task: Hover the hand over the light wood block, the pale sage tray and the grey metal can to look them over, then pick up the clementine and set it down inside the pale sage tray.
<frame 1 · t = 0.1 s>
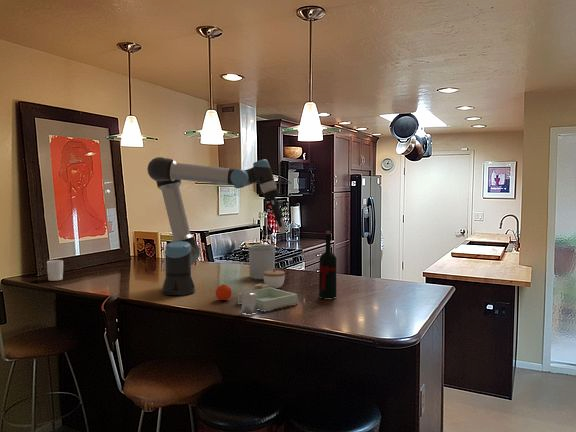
hand: (283, 231, 222), 28 cm above the countertop, tool tilted 20°, fingers open, 13 cm apart
sage tray: (267, 304, 192), on the countertop
utensil holder: (261, 277, 251), on the countertop
lidded jar: (274, 288, 225), on the countertop
metal can: (249, 313, 178), on the countertop
wood block: (261, 295, 208), on the countertop
clementine: (223, 300, 199), on the countertop
wine bottle: (326, 298, 203), on the countertop
white cup: (55, 280, 242), on the countertop
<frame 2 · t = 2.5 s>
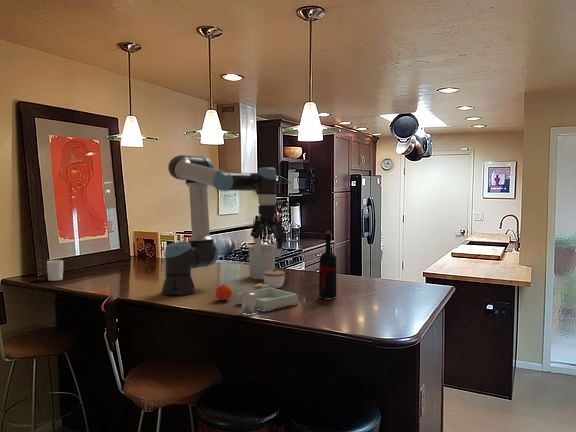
hand: (267, 255, 191), 21 cm above the countertop, tool pointing down, fingers open, 13 cm apart
nothing on the countertop moved.
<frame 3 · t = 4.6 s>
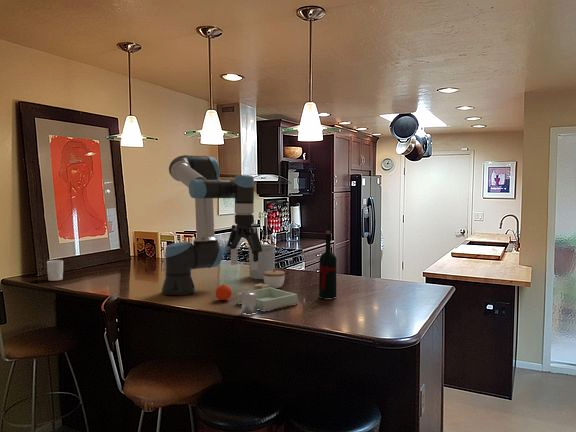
hand: (243, 267, 181), 18 cm above the countertop, tool pointing down, fingers open, 13 cm apart
nothing on the countertop moved.
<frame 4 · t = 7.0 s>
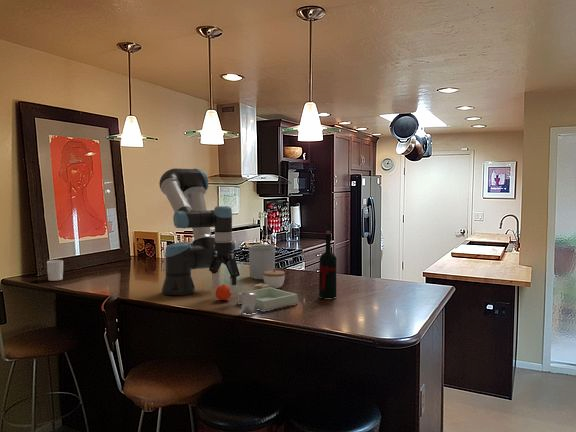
hand: (224, 290, 198), 5 cm above the countertop, tool pointing down, fingers open, 13 cm apart
nothing on the countertop moved.
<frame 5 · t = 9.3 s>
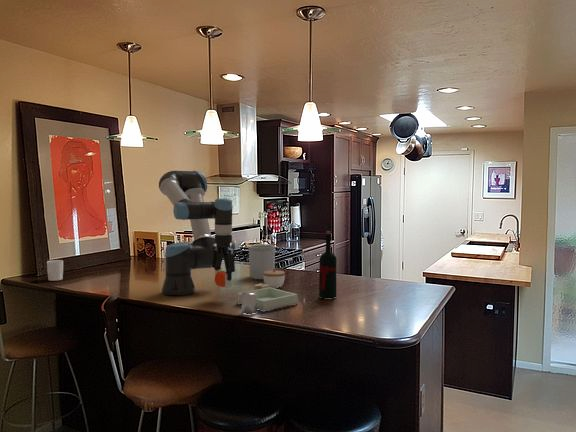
hand: (223, 285, 199), 6 cm above the countertop, tool pointing down, fingers closed on clementine, 7 cm apart
clementine: (222, 286, 199), point 6 cm above the countertop, touching gripper
everything else where it was.
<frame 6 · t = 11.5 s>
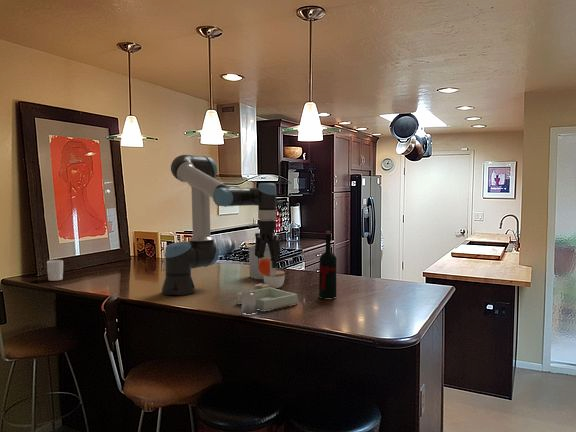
hand: (267, 274, 191), 13 cm above the countertop, tool pointing down, fingers closed on clementine, 7 cm apart
clementine: (266, 275, 192), point 12 cm above the countertop, touching gripper
everything else where it was.
when the fingers open (2 cm above the countertop, at t = 13.8 s): clementine stays where it is, resting on sage tray.
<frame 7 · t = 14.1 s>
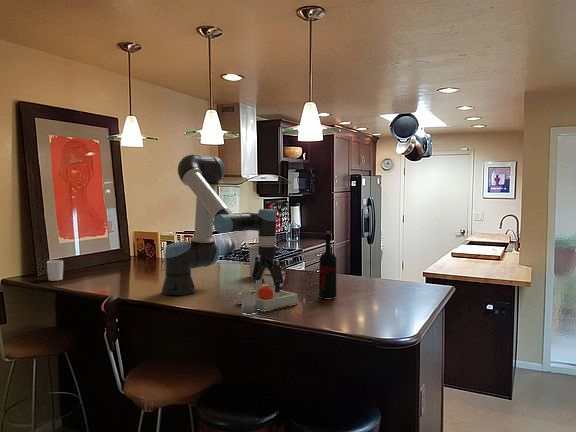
hand: (267, 297, 192), 3 cm above the countertop, tool pointing down, fingers open, 11 cm apart
clementine: (266, 302, 192), point 1 cm above the countertop, touching sage tray
everything else where it was.
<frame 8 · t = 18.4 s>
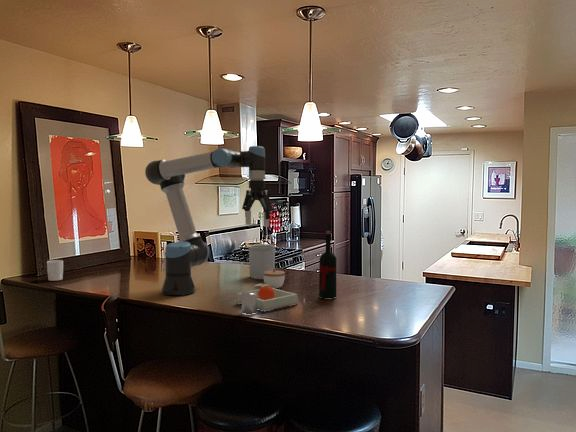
hand: (257, 225, 212), 32 cm above the countertop, tool pointing down, fingers open, 13 cm apart
nothing on the countertop moved.
at the end: clementine inside the target area on the sage tray (0.5 cm from its centre), point 0.8 cm above the sage tray's base; the gripper is holding nothing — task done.
